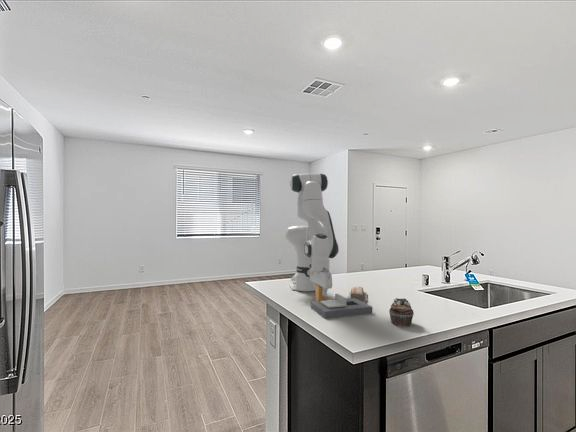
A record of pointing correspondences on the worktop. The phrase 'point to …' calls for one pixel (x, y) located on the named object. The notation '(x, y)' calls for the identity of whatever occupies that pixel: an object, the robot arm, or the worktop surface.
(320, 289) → the orange block
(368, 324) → the worktop surface
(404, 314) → the cupcake
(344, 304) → the shutter
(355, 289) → the packaged product
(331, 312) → the socket plate
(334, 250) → the robot arm
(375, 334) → the worktop surface
